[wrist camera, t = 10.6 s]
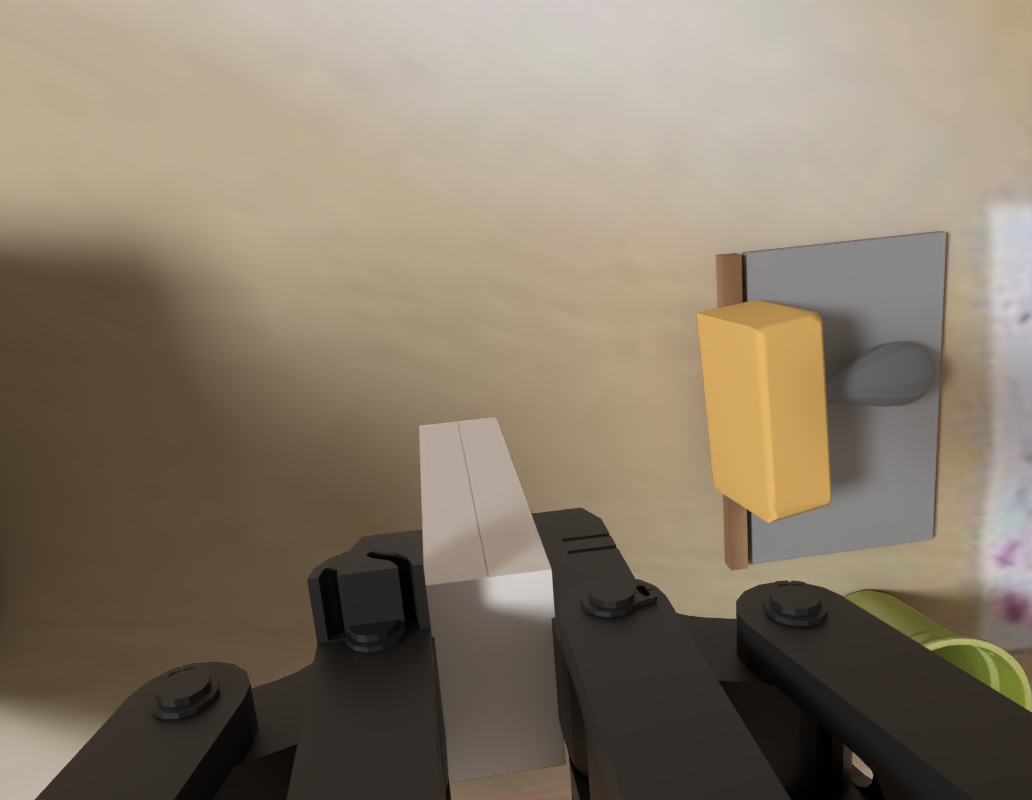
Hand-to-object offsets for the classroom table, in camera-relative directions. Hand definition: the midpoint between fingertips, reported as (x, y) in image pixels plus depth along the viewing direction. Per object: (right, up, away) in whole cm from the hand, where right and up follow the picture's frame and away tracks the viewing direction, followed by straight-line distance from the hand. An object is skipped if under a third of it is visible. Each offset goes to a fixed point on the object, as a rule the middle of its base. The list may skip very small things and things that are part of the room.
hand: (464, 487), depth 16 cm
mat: (+19, +2, +30) cm, 36 cm away
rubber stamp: (+12, +1, +25) cm, 28 cm away
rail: (+13, +1, +30) cm, 32 cm away
